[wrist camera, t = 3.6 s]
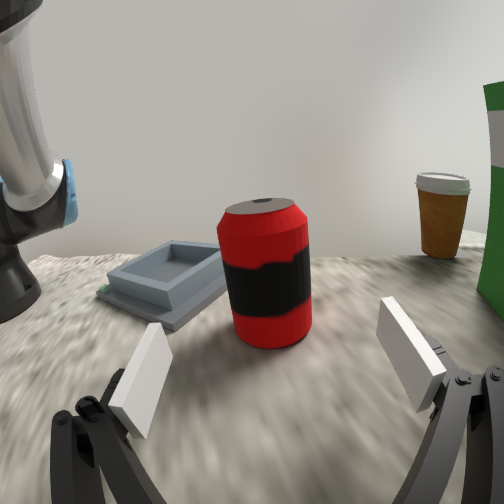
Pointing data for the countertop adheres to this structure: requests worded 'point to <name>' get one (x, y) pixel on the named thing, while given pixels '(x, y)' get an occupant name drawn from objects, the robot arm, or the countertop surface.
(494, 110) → the cereal box
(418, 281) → the countertop surface
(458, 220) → the disposable coffee cup
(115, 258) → the countertop surface
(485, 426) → the robot arm
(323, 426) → the countertop surface
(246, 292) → the soda can
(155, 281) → the dock
